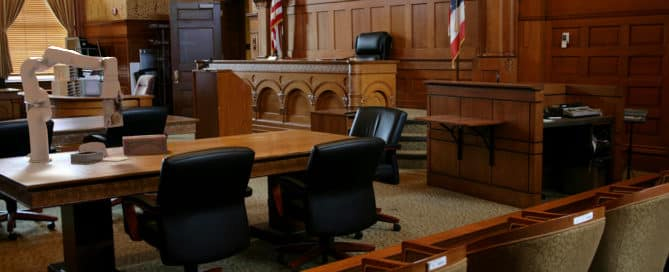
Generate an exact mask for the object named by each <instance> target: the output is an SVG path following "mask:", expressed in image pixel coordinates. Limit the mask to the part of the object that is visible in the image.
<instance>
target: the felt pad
mask: <svg viewBox="0 0 669 272" xmlns="http://www.w3.org/2000/svg"><path fill="white" fill-rule="evenodd" d="M127 160H131V157H127V156H125V157H123V156H112V157H108V158H103V159H102V160H100V161H99V162H122V161H127Z"/></svg>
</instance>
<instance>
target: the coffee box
mask: <svg viewBox="0 0 669 272" xmlns="http://www.w3.org/2000/svg"><path fill="white" fill-rule="evenodd" d="M101 100H102V112H103V113H102V114H103V115H102V116H103V128H115V127H123V126H124V119H123V103H122V101H123V100H122V101H121V103H120V110H116V103H117V102H116V100H115V99H101Z"/></svg>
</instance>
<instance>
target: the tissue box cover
mask: <svg viewBox="0 0 669 272" xmlns="http://www.w3.org/2000/svg"><path fill="white" fill-rule="evenodd" d="M122 152H123V155H124V156H131V155H146V154H148V155H149V154H150V155H151V154H162V153H163V154H165V153H168V137H167V136H166V135H165V134H149V135H133V136H132V135H130V136H129V135H128V136H122Z"/></svg>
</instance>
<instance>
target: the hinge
mask: <svg viewBox="0 0 669 272" xmlns="http://www.w3.org/2000/svg"><path fill="white" fill-rule="evenodd" d="M85 151H99V152H103V156H106V157H109V152H108V151H107V148H106V145H105V143H103V142H99V141H98V142H97V141H96V142H95V141H94V142H93V141H92V142H87V143H83V144H81V145H80V146H79V147H78V153H80V152H85Z"/></svg>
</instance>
